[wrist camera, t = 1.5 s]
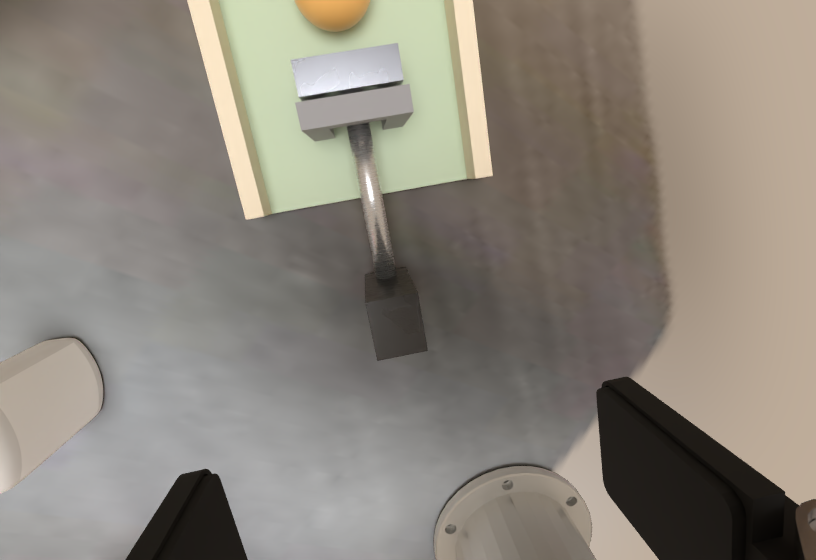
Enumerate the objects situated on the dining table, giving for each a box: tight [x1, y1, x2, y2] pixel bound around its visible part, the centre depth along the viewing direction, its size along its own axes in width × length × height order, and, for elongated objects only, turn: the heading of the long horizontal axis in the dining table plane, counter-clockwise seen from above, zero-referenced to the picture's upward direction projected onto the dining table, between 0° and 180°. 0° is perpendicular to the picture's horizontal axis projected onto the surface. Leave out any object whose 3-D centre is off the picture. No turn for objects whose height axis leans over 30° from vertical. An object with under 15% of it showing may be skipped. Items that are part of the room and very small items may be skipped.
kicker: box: [291, 43, 428, 361], centre depth 22 cm, size 14×5×6 cm, turn 10°
